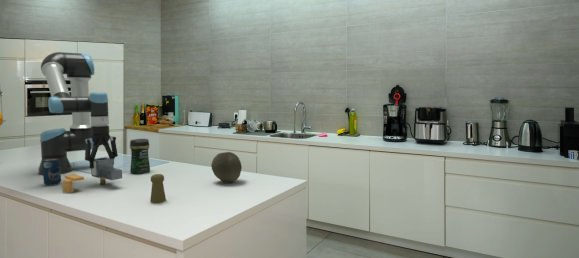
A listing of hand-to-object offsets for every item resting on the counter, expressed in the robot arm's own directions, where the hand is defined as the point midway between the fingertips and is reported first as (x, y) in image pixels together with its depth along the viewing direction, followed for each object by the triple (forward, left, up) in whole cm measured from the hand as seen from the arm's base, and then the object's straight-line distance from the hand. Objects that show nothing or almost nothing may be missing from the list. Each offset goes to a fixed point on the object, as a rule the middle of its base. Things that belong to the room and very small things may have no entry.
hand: (102, 173), depth 172 cm
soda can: (-20, -14, -6) cm, 25 cm away
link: (+5, 0, -1) cm, 5 cm away
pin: (0, 0, -5) cm, 5 cm away
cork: (+43, 0, -6) cm, 44 cm away
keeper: (0, -14, -5) cm, 14 cm away
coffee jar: (-9, +25, -6) cm, 27 cm away
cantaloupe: (+44, +38, -6) cm, 59 cm away
